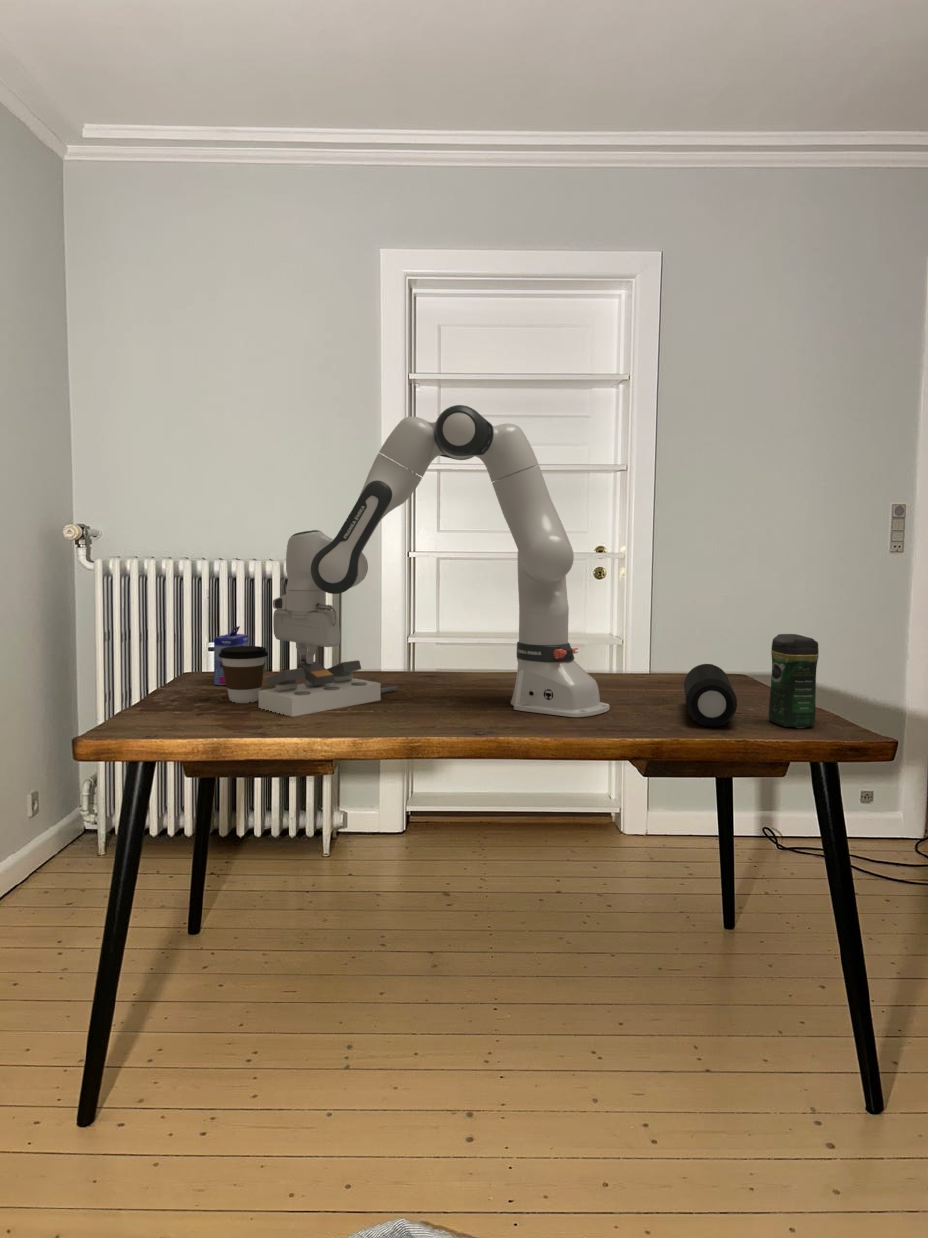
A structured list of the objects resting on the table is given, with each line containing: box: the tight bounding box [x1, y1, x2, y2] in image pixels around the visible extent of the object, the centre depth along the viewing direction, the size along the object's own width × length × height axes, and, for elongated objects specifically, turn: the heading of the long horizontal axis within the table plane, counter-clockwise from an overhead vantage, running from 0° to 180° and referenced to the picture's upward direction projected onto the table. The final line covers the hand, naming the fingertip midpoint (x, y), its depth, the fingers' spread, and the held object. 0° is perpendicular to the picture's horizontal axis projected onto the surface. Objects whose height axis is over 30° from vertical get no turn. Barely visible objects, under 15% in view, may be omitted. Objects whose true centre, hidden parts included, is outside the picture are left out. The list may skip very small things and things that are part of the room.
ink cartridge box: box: [213, 625, 249, 686], centre depth 224 cm, size 10×6×14 cm, turn 171°
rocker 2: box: [296, 661, 334, 686], centre depth 198 cm, size 7×5×2 cm
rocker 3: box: [326, 659, 362, 676], centre depth 204 cm, size 7×5×2 cm
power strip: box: [258, 673, 398, 718], centre depth 201 cm, size 12×36×6 cm, turn 138°
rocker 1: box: [266, 668, 306, 688], centre depth 193 cm, size 7×5×2 cm
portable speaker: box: [683, 663, 738, 728], centre depth 188 cm, size 26×10×10 cm, turn 167°
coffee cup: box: [219, 645, 269, 704], centre depth 201 cm, size 11×11×12 cm
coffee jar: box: [767, 633, 819, 729], centre depth 180 cm, size 10×8×19 cm
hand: (306, 663), depth 200 cm, fingers closed
